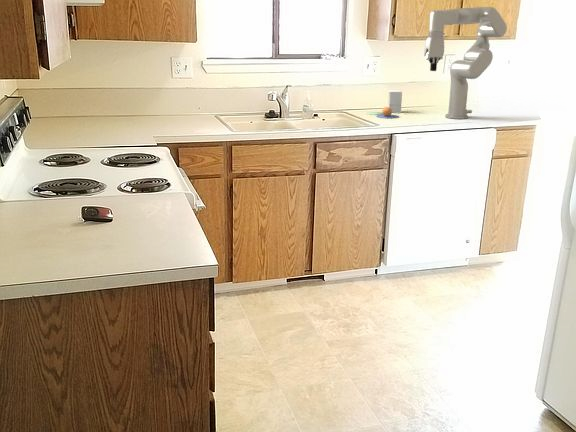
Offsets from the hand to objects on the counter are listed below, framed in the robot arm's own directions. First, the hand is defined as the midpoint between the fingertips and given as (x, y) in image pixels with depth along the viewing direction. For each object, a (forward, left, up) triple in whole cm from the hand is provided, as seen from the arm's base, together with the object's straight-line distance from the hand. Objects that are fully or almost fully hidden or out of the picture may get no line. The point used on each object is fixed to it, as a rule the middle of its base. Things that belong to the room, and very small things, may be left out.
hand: (433, 70), depth 322 cm
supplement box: (-2, -35, -27) cm, 44 cm away
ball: (+12, -23, -24) cm, 36 cm away
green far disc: (+12, -35, -27) cm, 46 cm away
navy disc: (+12, -23, -27) cm, 37 cm away
